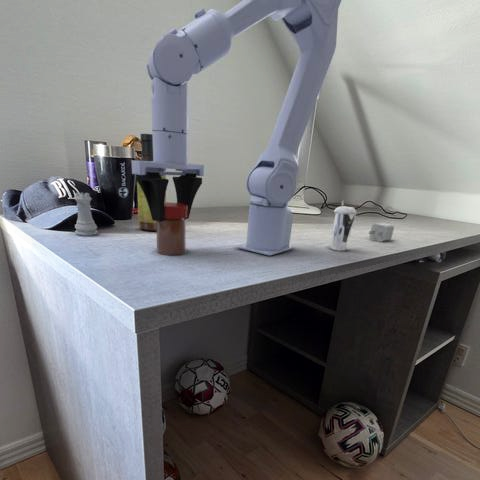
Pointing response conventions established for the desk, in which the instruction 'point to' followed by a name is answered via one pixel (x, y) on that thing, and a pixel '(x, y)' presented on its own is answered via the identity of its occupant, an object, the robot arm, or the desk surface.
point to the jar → (171, 236)
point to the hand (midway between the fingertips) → (171, 219)
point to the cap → (175, 210)
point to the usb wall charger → (381, 231)
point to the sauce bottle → (143, 207)
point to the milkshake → (342, 226)
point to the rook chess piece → (84, 216)
